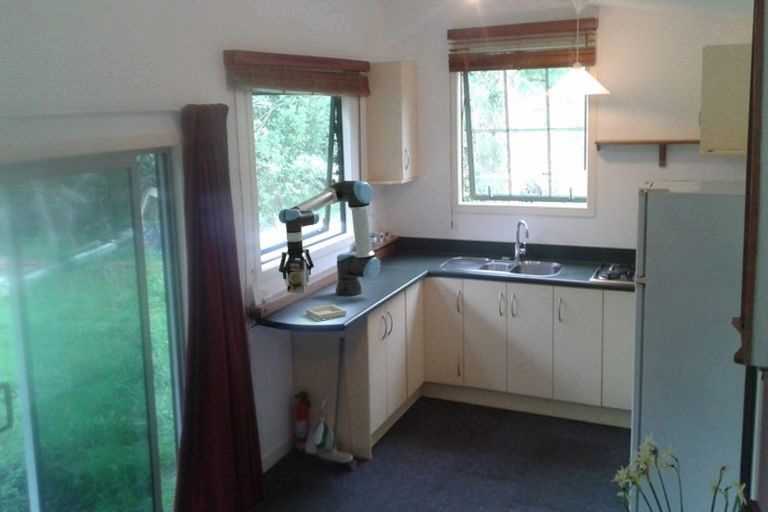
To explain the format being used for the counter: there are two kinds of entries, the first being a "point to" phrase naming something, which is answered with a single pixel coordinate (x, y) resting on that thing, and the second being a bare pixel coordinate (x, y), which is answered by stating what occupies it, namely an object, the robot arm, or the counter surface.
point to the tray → (325, 312)
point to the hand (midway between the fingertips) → (297, 283)
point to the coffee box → (297, 276)
